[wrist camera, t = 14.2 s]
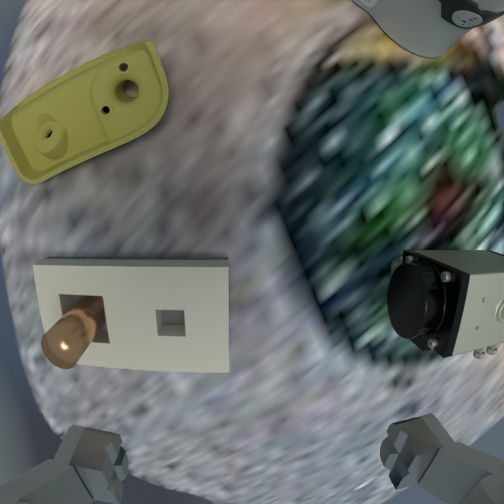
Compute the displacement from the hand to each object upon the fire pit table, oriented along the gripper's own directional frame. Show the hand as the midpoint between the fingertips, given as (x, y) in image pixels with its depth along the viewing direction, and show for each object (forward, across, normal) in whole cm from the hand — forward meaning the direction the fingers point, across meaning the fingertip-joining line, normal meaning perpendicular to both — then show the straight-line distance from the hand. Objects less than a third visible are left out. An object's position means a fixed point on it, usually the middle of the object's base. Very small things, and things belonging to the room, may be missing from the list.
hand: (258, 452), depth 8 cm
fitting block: (+27, +12, +8) cm, 31 cm away
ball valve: (+28, -23, +4) cm, 37 cm away
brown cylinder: (+26, +17, +8) cm, 32 cm away
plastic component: (+29, +17, -14) cm, 36 cm away
